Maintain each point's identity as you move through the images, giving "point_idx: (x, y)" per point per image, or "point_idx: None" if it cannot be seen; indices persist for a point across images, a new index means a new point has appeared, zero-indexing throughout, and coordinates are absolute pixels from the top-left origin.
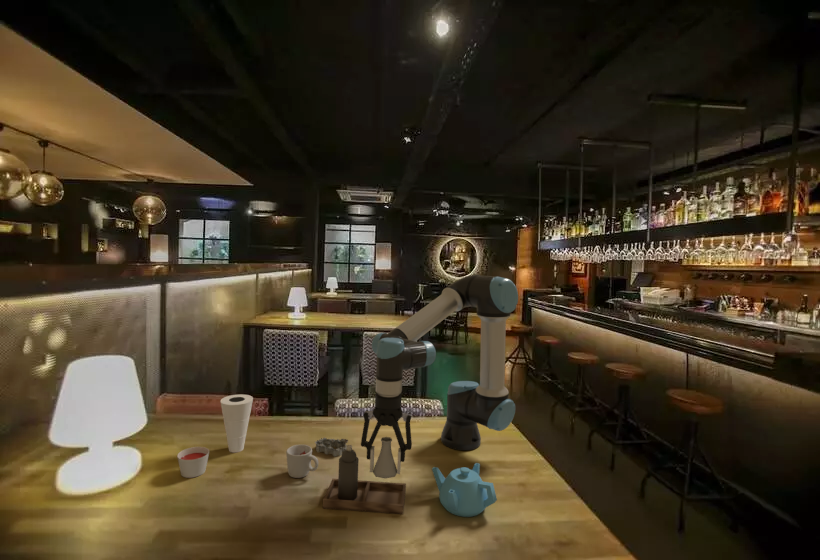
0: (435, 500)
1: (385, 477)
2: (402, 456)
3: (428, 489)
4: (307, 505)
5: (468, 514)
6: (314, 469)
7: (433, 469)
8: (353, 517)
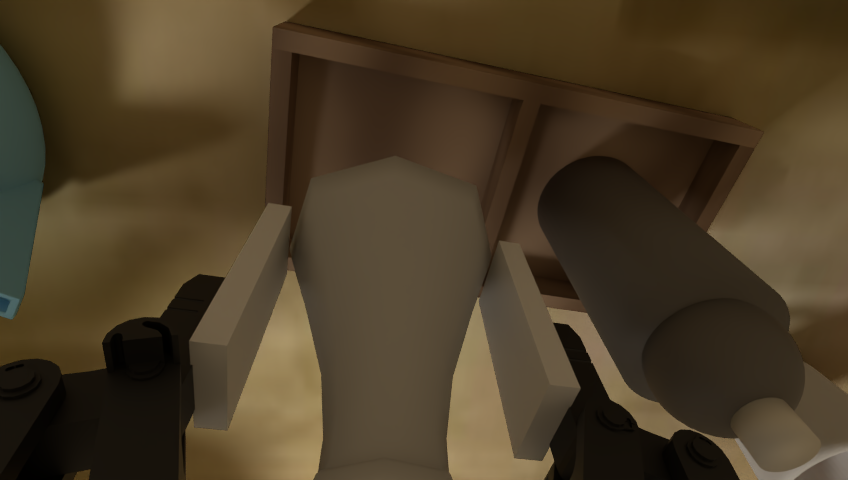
0: (92, 152)
1: (395, 161)
2: (192, 312)
3: (147, 253)
4: (798, 150)
5: None
6: None
7: (8, 291)
8: (587, 14)
